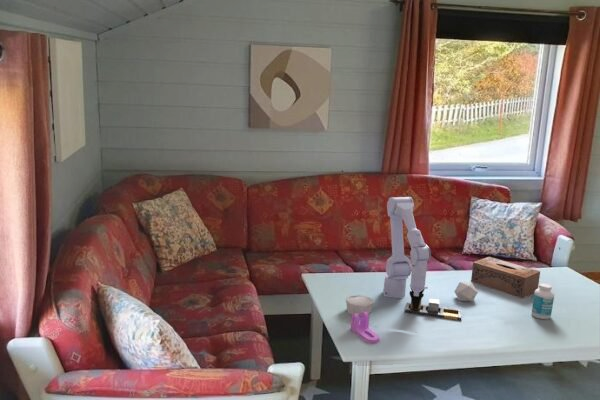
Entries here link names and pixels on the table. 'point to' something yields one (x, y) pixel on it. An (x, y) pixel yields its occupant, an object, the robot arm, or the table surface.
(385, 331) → the table surface
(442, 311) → the rail
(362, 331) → the bracket
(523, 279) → the tissue box cover
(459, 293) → the die
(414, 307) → the robot arm
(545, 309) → the pill bottle
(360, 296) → the ramekin
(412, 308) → the light wood cube
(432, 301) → the matte gray cube
